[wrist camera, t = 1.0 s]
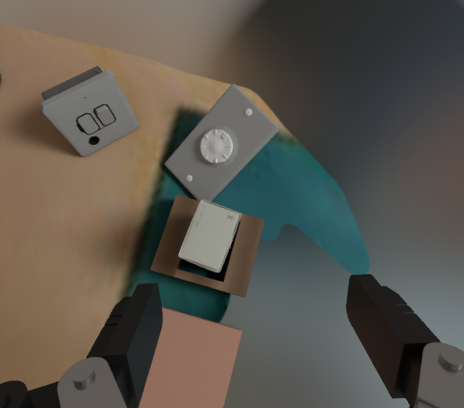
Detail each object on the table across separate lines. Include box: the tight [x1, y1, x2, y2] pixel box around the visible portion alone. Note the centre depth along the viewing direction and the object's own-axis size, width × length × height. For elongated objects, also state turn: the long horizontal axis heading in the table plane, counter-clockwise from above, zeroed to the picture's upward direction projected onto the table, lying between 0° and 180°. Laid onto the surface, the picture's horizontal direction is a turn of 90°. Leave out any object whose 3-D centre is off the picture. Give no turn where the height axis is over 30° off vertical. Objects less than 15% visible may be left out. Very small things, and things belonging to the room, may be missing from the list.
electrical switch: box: [40, 66, 139, 156], centre depth 37 cm, size 9×5×9 cm, turn 125°
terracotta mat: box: [139, 307, 242, 408], centre depth 34 cm, size 12×12×1 cm
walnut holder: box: [150, 194, 265, 297], centre depth 37 cm, size 12×10×3 cm
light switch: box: [165, 84, 279, 202], centre depth 39 cm, size 8×6×14 cm
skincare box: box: [178, 199, 241, 273], centre depth 33 cm, size 6×4×12 cm
